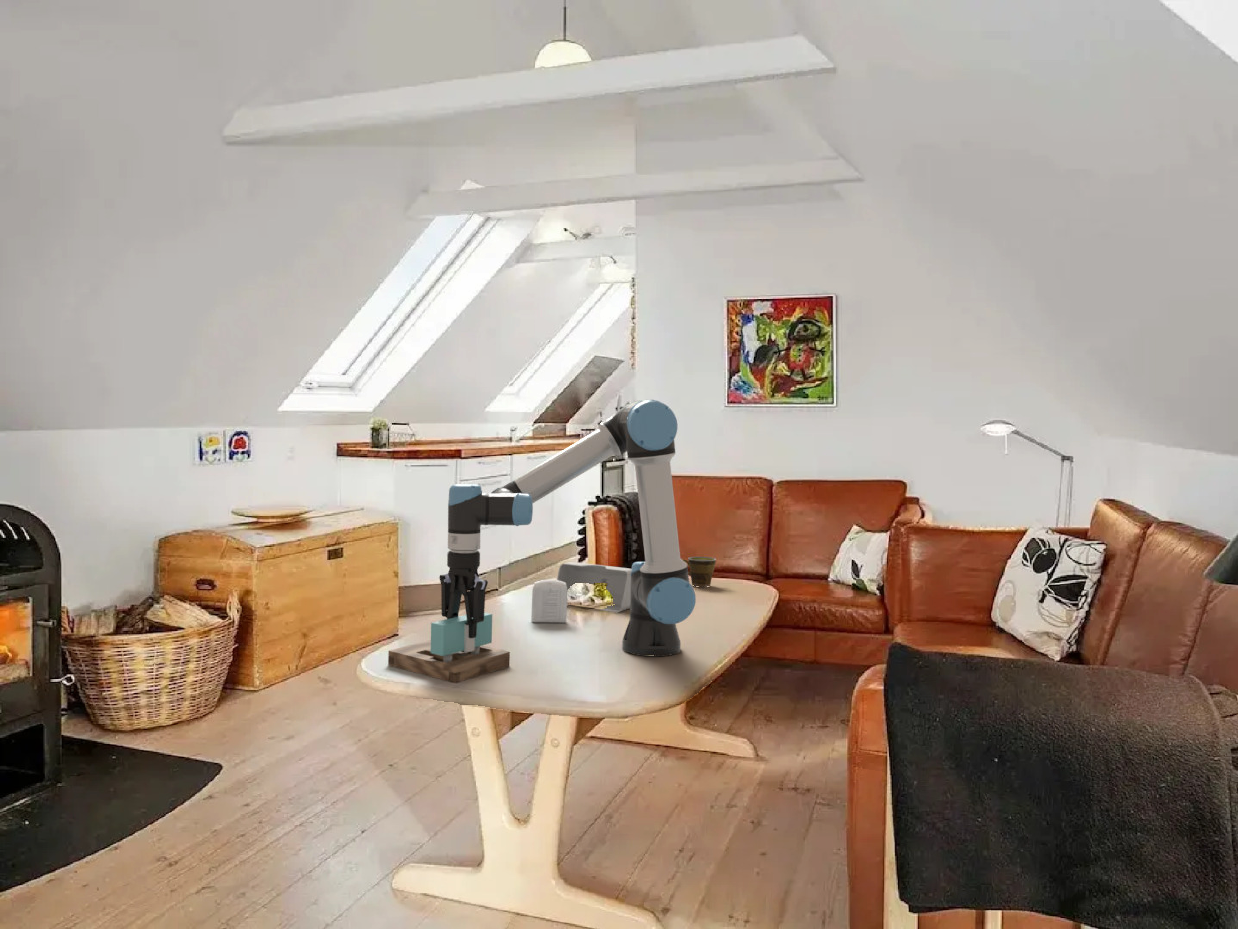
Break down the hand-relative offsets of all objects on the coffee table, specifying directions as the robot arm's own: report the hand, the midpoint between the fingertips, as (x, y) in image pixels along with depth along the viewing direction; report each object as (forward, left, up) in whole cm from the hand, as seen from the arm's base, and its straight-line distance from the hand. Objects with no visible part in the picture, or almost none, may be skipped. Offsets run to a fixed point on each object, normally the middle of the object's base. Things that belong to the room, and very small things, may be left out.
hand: (461, 649), depth 213 cm
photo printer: (+16, -52, -5) cm, 55 cm away
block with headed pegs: (0, 0, -4) cm, 4 cm away
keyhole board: (+4, 0, -5) cm, 6 cm away
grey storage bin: (+21, -83, -5) cm, 85 cm away
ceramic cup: (+13, -133, -5) cm, 134 cm away
